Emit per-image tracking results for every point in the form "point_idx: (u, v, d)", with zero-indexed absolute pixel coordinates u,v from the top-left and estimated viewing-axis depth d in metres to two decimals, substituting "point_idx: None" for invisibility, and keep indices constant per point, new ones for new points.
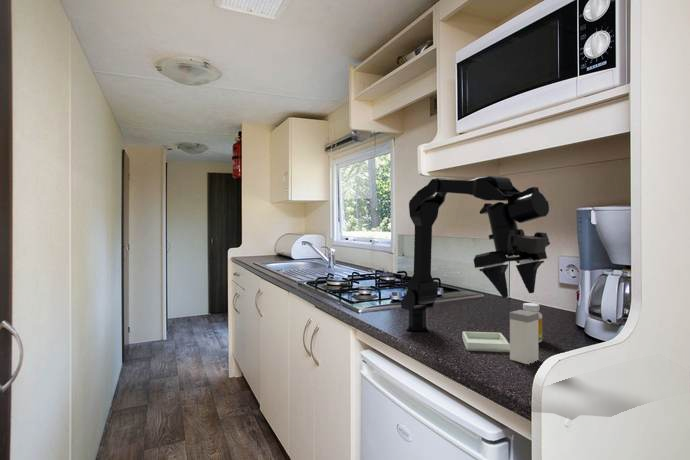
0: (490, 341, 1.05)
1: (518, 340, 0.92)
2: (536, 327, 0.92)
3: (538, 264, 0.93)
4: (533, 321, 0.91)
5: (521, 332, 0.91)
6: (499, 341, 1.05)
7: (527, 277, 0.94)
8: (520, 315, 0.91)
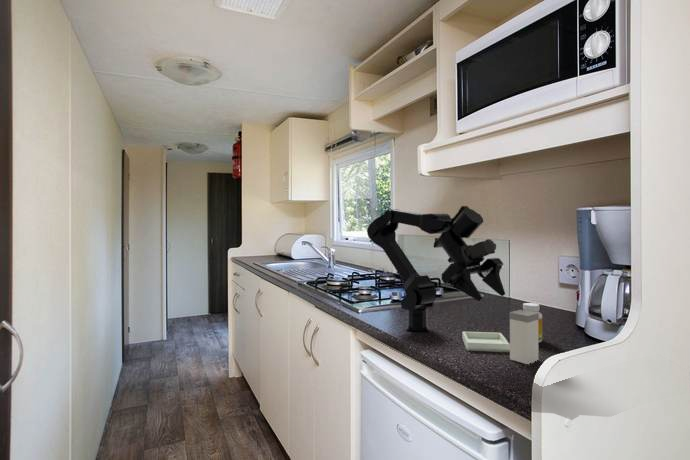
0: (490, 341, 1.05)
1: (518, 340, 0.92)
2: (536, 327, 0.92)
3: (498, 269, 1.05)
4: (533, 321, 0.91)
5: (521, 332, 0.91)
6: (499, 341, 1.05)
7: (495, 283, 1.04)
8: (520, 315, 0.91)
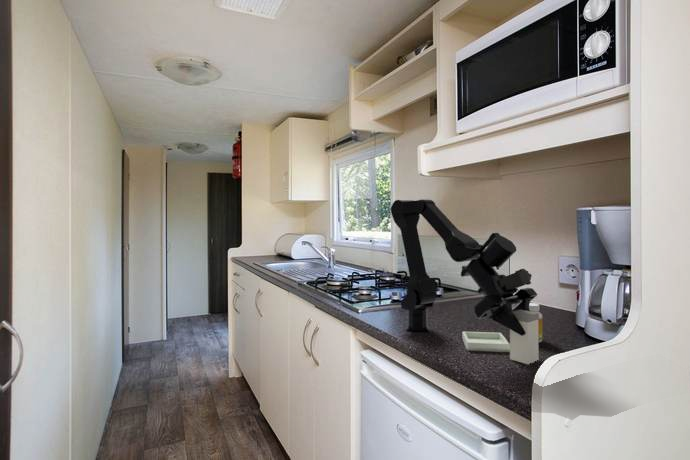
0: (490, 341, 1.05)
1: (518, 340, 0.92)
2: (536, 327, 0.92)
3: (527, 302, 0.96)
4: (533, 321, 0.91)
5: None
6: (499, 341, 1.05)
7: None
8: (520, 315, 0.91)
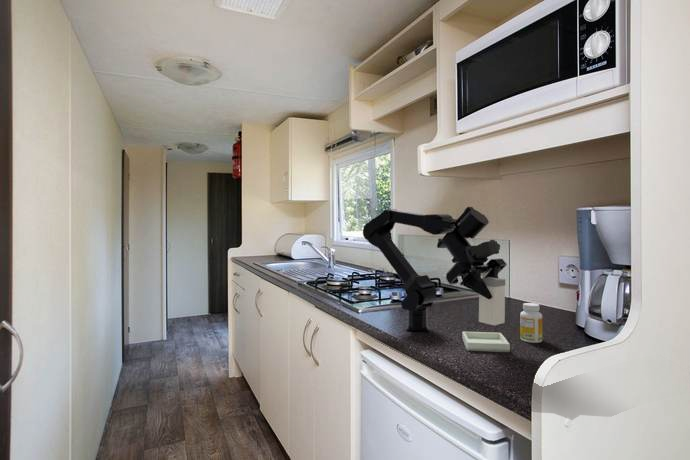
0: (490, 341, 1.05)
1: (485, 304, 1.01)
2: (503, 292, 1.01)
3: (496, 270, 1.05)
4: (500, 286, 1.00)
5: None
6: (499, 341, 1.05)
7: None
8: (488, 280, 1.00)
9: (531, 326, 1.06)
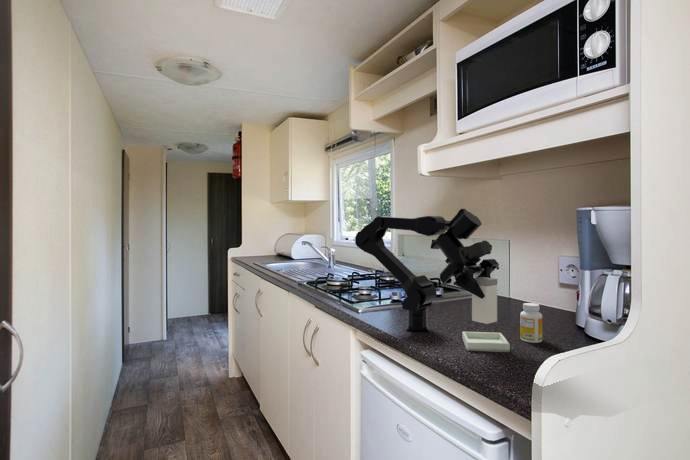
0: (490, 341, 1.05)
1: (478, 303, 1.03)
2: (495, 291, 1.03)
3: (488, 270, 1.07)
4: (492, 285, 1.02)
5: None
6: (499, 341, 1.05)
7: None
8: (480, 280, 1.02)
9: (531, 326, 1.06)
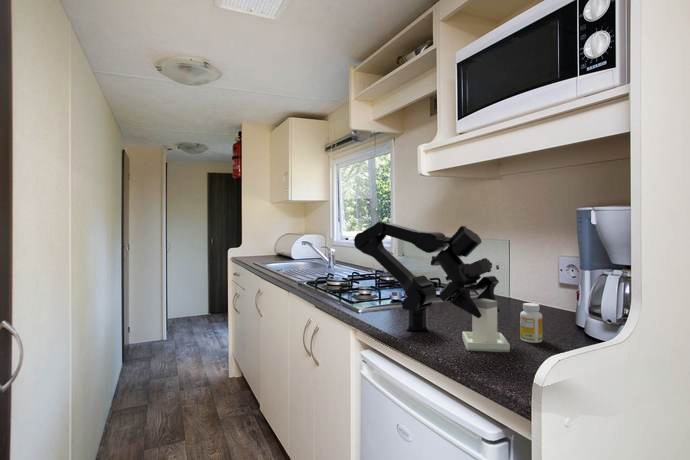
0: None
1: (478, 325, 1.03)
2: (495, 313, 1.03)
3: (492, 287, 1.08)
4: (492, 308, 1.02)
5: (481, 318, 1.02)
6: (499, 341, 1.05)
7: None
8: (480, 302, 1.02)
9: (531, 326, 1.06)
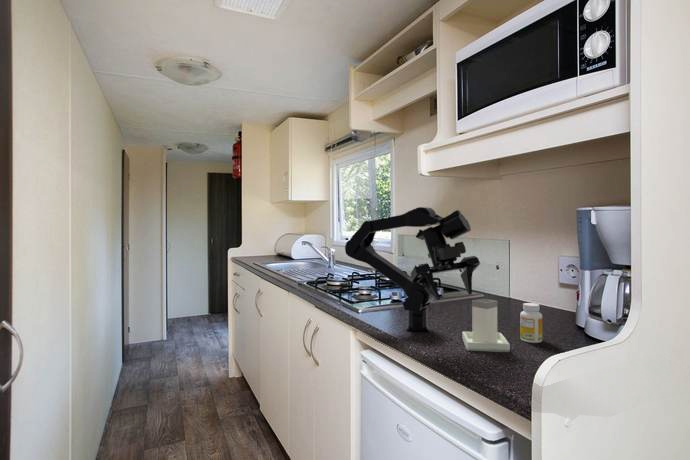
0: None
1: (479, 325, 1.03)
2: (495, 313, 1.03)
3: (470, 269, 1.11)
4: (492, 308, 1.02)
5: (481, 318, 1.02)
6: (499, 341, 1.05)
7: (466, 282, 1.11)
8: (481, 302, 1.02)
9: (531, 326, 1.06)
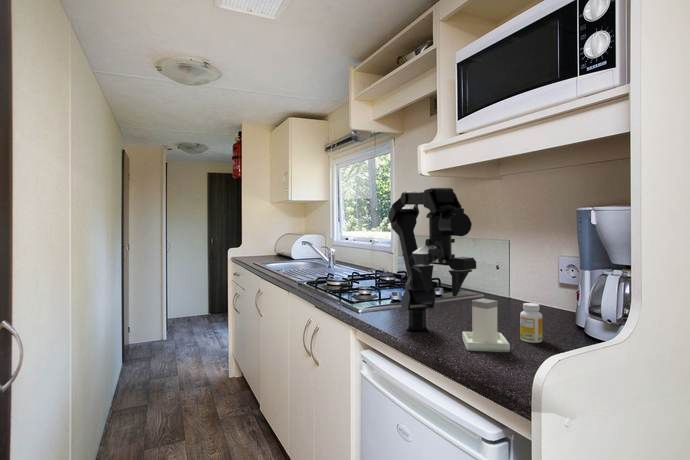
0: None
1: (479, 325, 1.03)
2: (495, 313, 1.03)
3: (452, 273, 1.00)
4: (492, 308, 1.02)
5: (481, 318, 1.02)
6: (499, 341, 1.05)
7: None
8: (481, 302, 1.02)
9: (531, 326, 1.06)
